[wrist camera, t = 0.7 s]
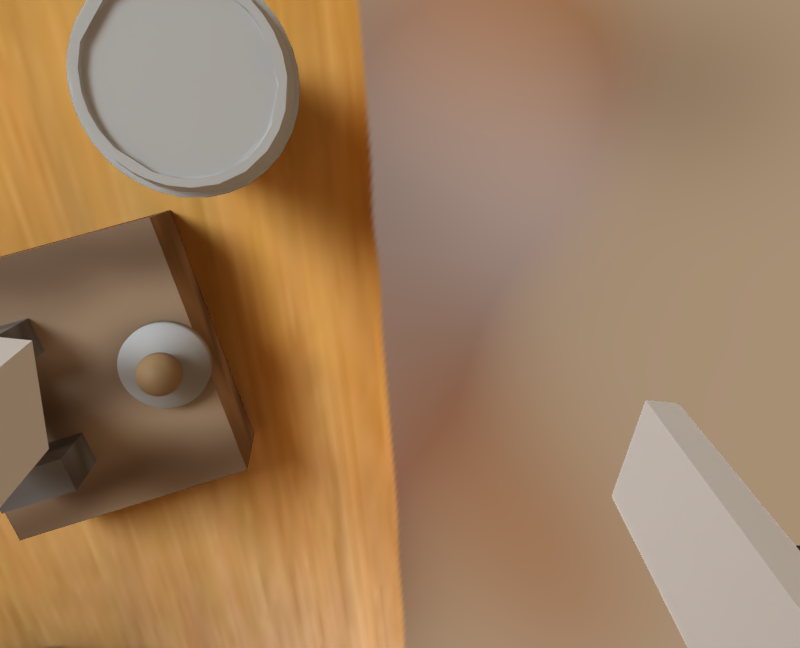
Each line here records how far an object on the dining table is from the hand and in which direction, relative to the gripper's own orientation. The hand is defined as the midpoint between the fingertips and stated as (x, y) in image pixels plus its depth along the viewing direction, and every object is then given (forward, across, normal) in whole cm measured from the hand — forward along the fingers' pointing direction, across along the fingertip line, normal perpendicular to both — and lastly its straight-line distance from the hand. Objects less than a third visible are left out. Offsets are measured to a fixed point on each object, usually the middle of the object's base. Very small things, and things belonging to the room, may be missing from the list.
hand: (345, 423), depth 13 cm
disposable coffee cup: (+27, -9, +3) cm, 29 cm away
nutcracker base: (+23, -16, -13) cm, 31 cm away
